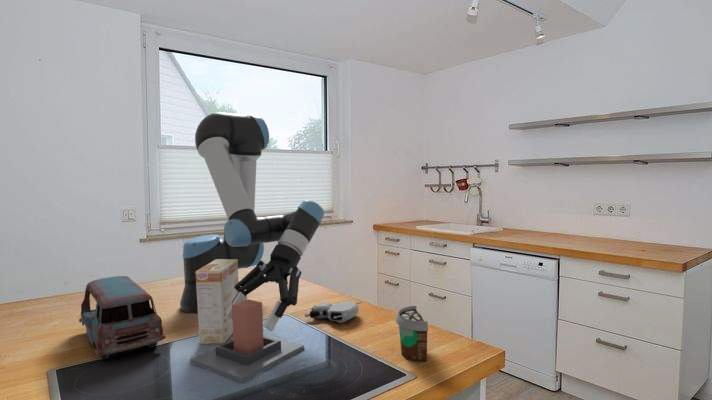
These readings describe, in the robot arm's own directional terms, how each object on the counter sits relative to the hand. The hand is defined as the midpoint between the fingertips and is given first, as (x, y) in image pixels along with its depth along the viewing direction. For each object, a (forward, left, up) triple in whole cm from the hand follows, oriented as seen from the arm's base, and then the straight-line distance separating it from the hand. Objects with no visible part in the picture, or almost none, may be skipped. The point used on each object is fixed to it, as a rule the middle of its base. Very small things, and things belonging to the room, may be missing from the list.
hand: (247, 323), depth 102 cm
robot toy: (+2, +32, -9) cm, 33 cm away
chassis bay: (0, 0, -8) cm, 8 cm away
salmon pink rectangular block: (0, 0, -7) cm, 7 cm away
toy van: (-38, -11, -9) cm, 40 cm away
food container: (+33, +21, -9) cm, 40 cm away
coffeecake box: (-18, +6, -9) cm, 21 cm away
